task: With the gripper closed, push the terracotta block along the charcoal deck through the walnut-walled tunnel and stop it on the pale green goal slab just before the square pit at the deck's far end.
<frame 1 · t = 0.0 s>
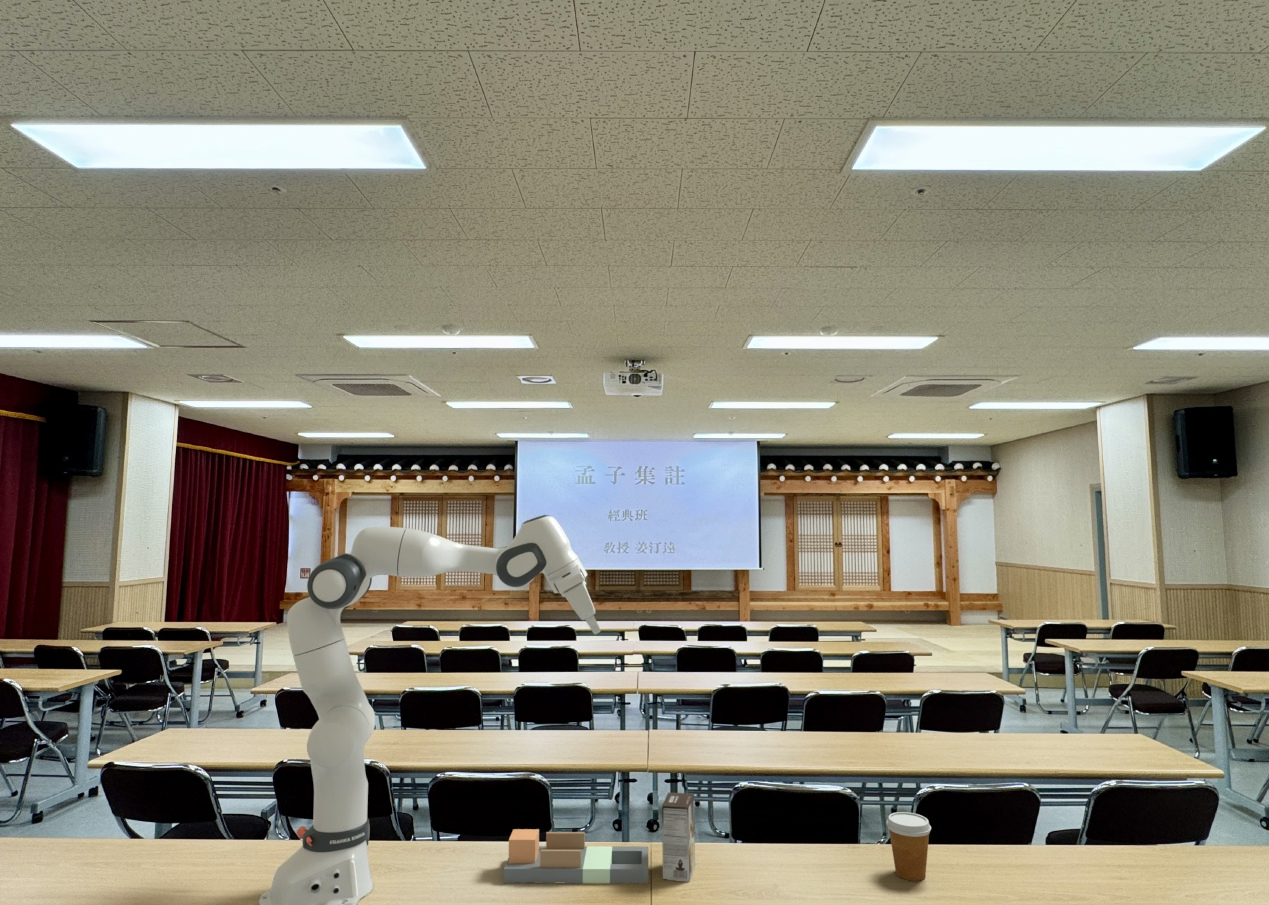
hand: (596, 630, 177), 54 cm above the table, tool tilted 30°, fingers open, 8 cm apart
block: (523, 857, 174), point 3 cm above the table, touching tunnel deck
coffee box: (679, 873, 173), on the table
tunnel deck: (565, 870, 173), on the table
disposable coffee cup: (910, 875, 171), on the table
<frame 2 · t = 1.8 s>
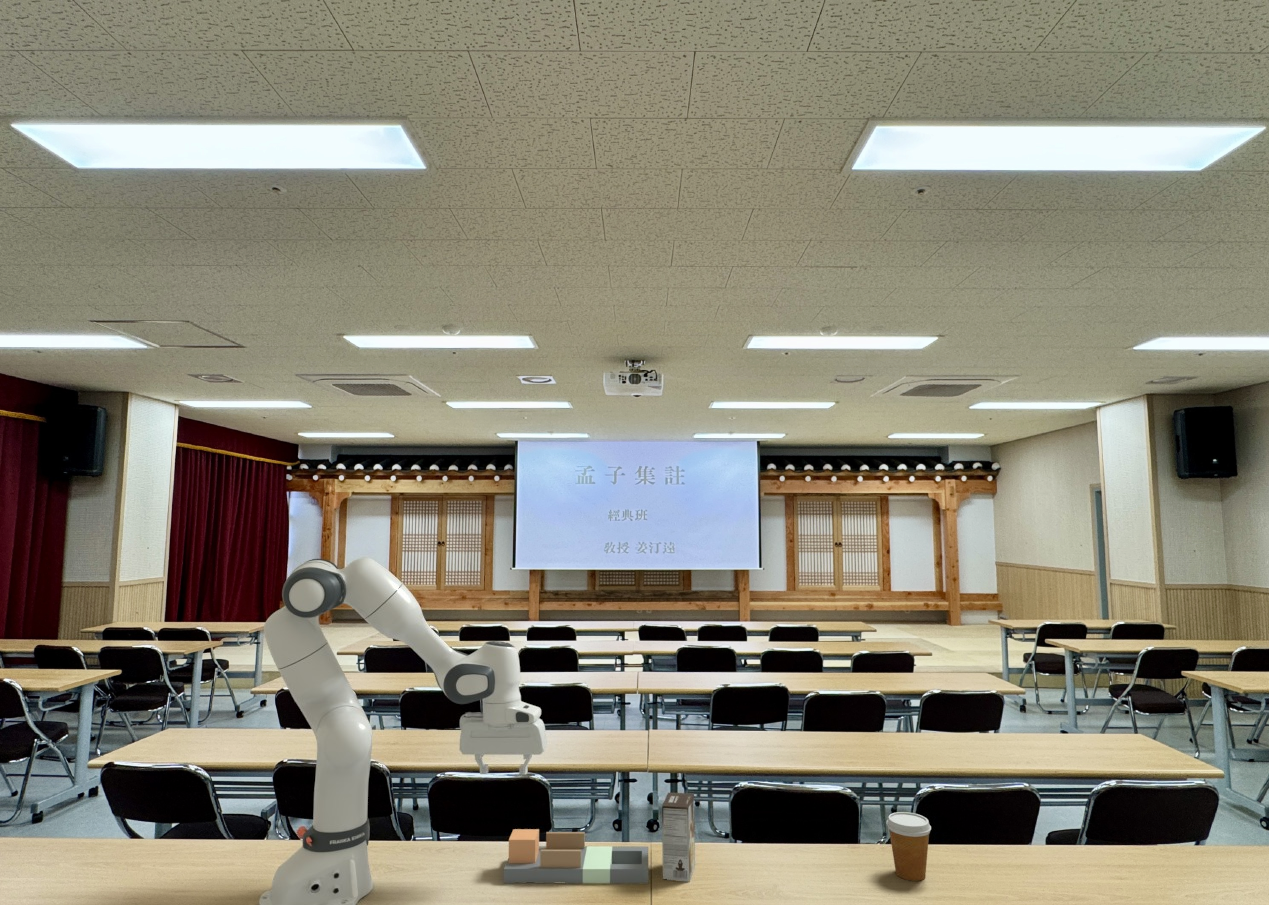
hand: (503, 773, 176), 22 cm above the table, tool pointing down, fingers open, 8 cm apart
nothing on the table moved.
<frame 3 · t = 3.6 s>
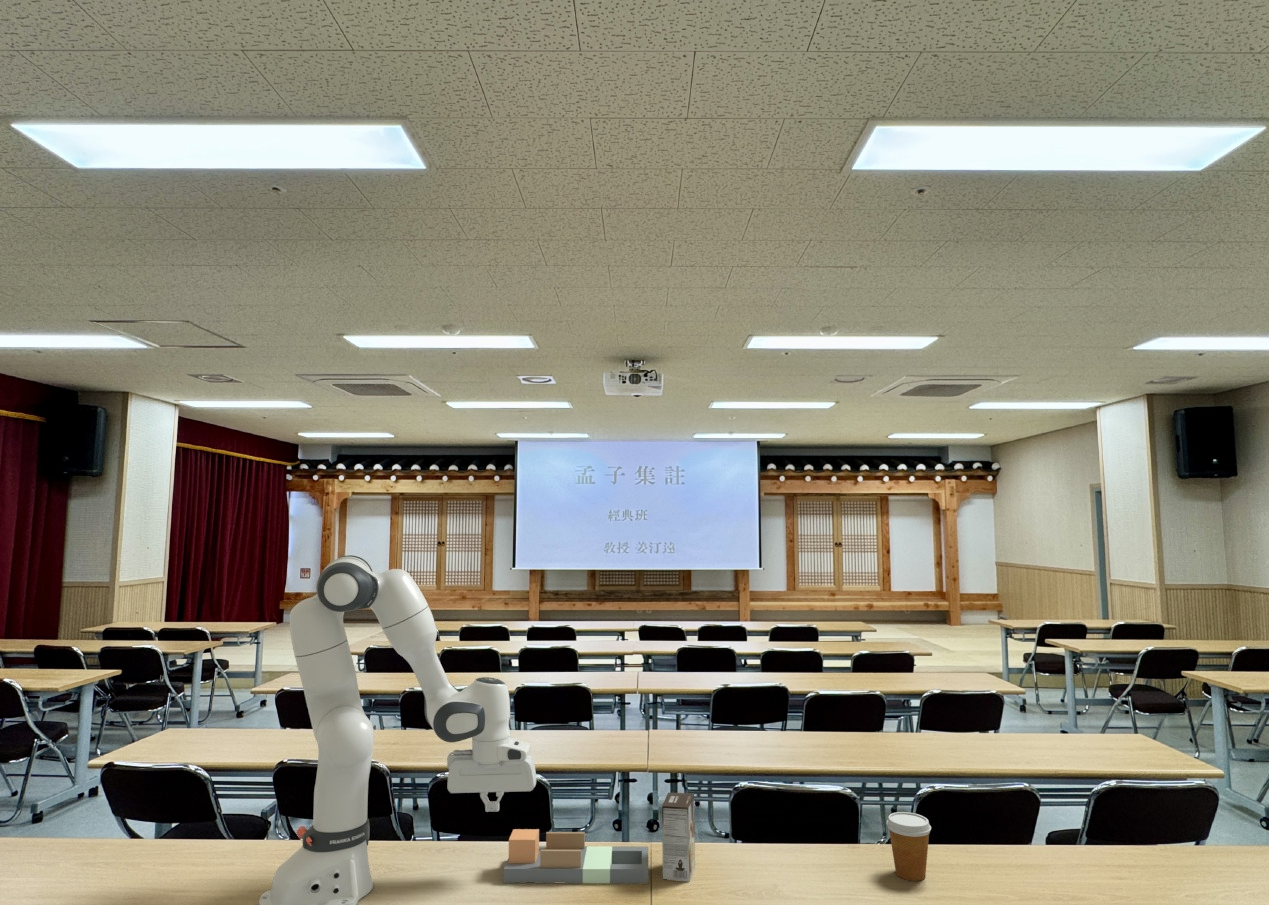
hand: (492, 810, 175), 13 cm above the table, tool pointing down, fingers closed
nothing on the table moved.
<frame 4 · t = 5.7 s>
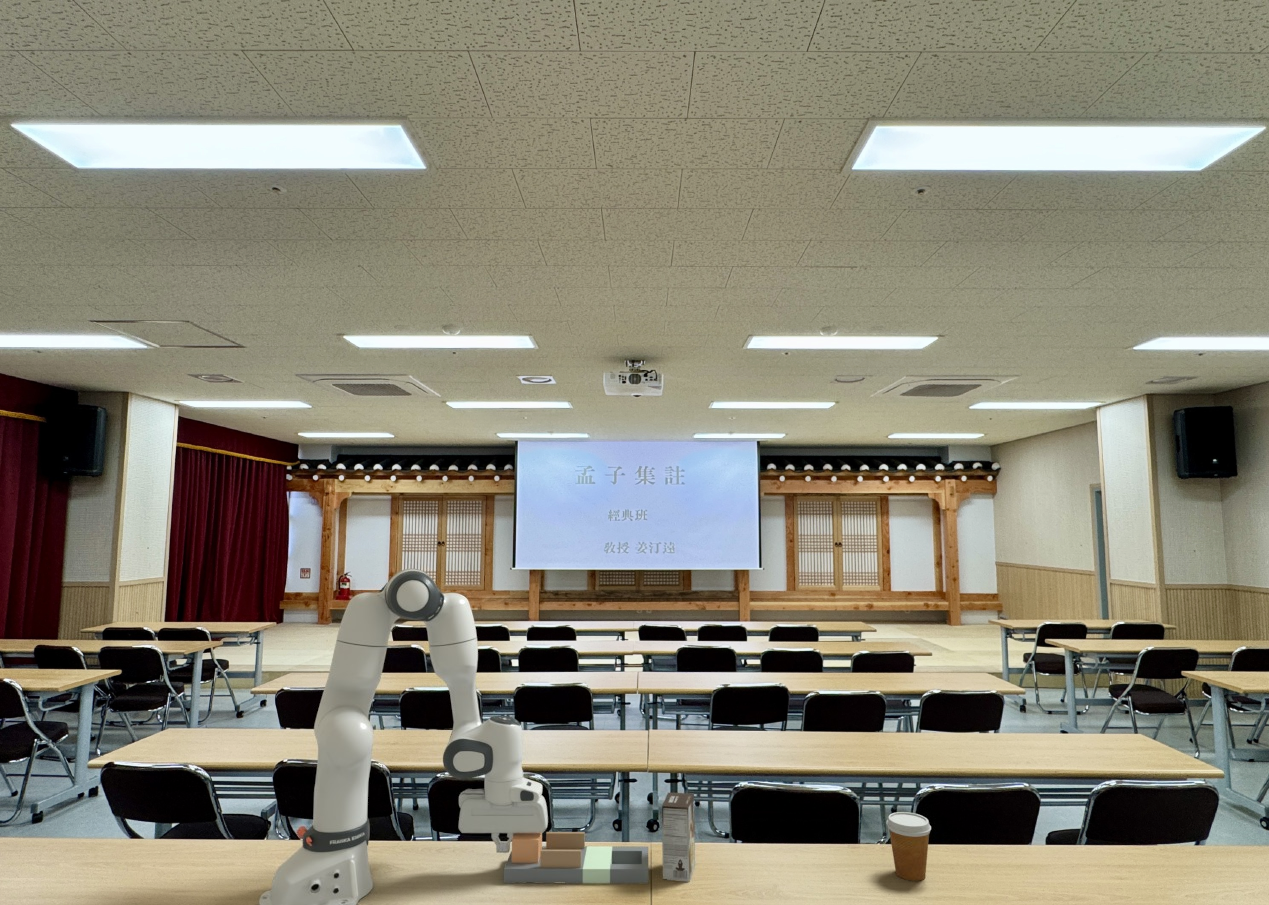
hand: (503, 851, 174), 4 cm above the table, tool pointing down, fingers closed
block: (526, 856, 174), point 3 cm above the table, touching gripper
everything else where it was.
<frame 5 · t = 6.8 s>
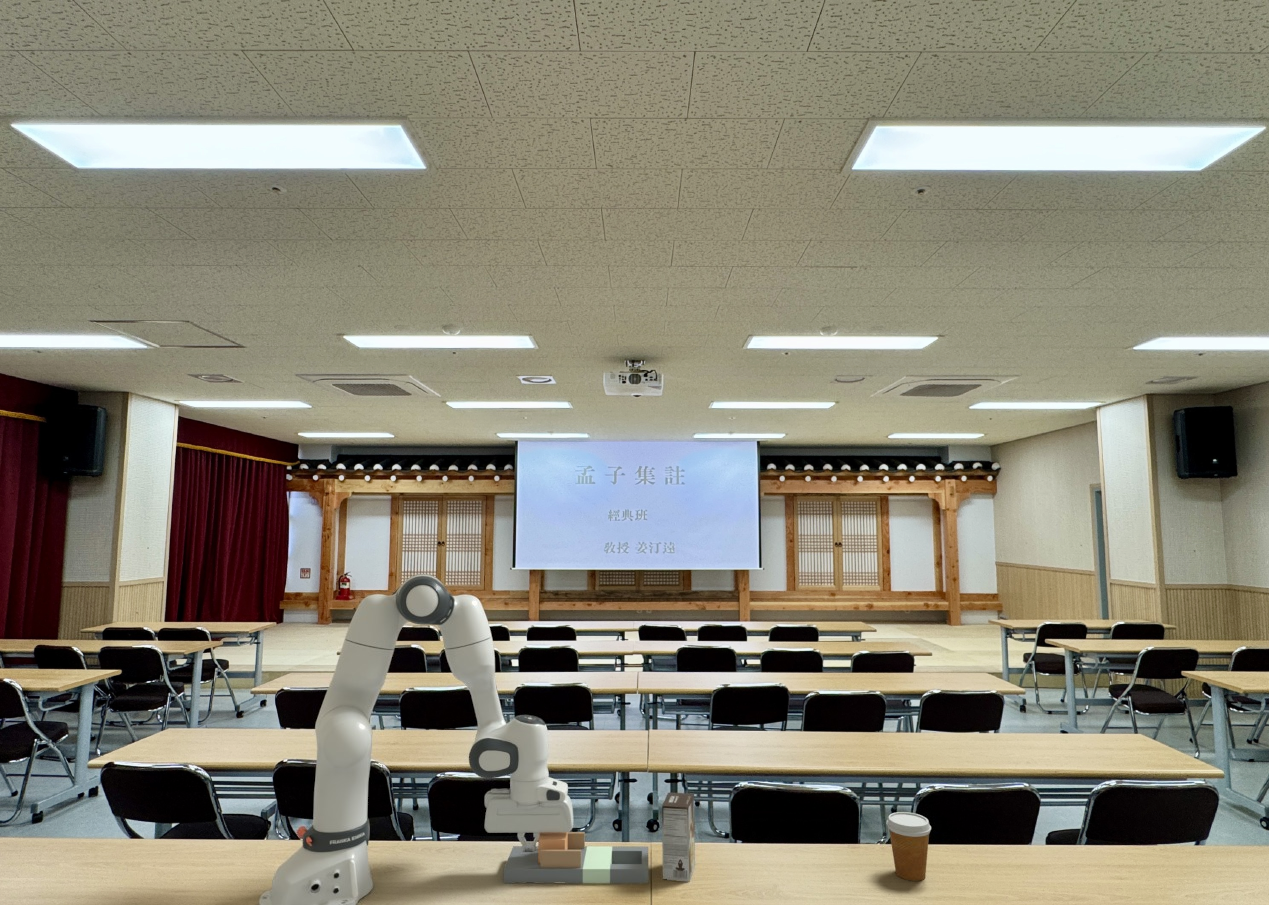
hand: (529, 851, 174), 4 cm above the table, tool pointing down, fingers closed
block: (553, 857, 174), point 3 cm above the table, touching gripper
everything else where it was.
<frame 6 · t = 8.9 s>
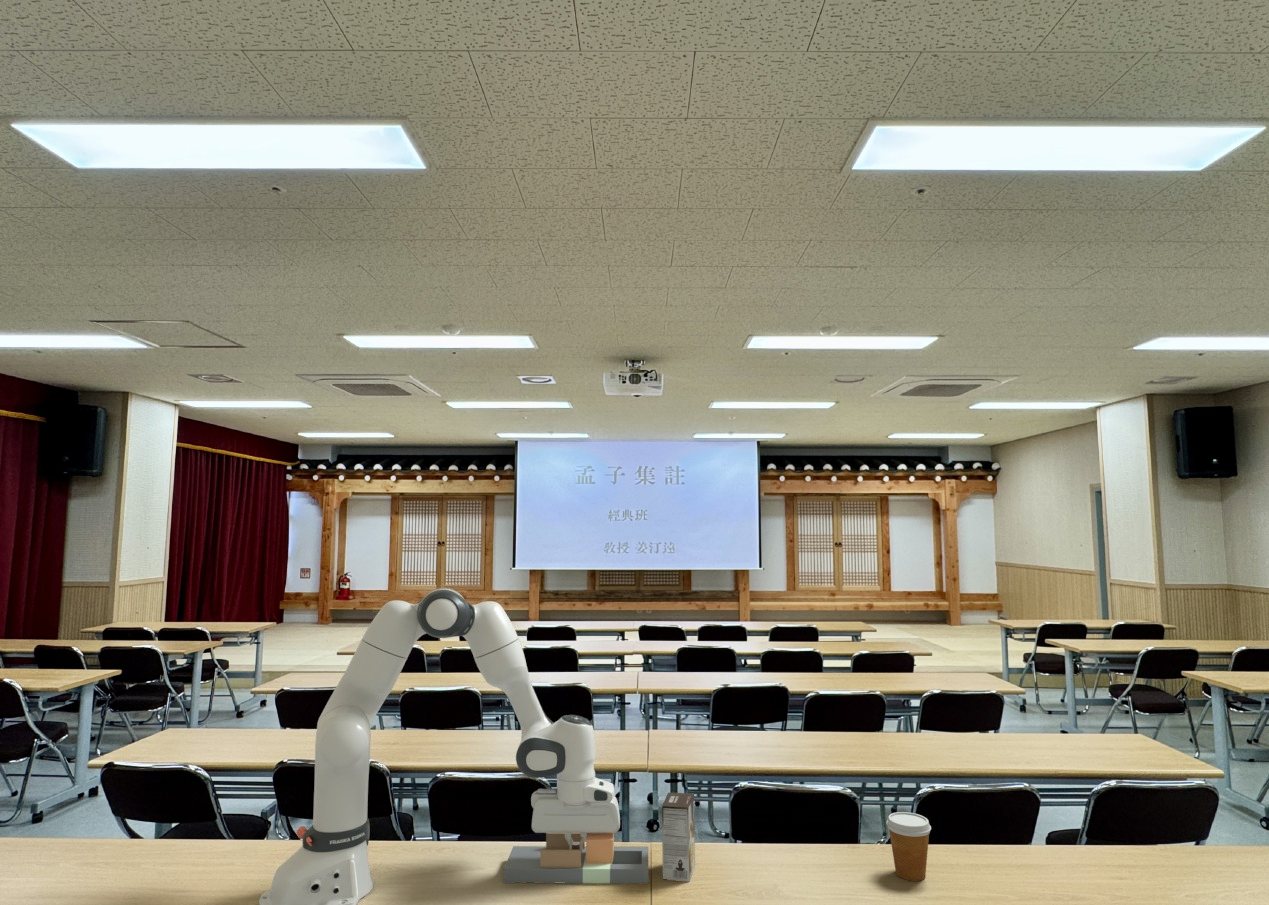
hand: (576, 851, 174), 4 cm above the table, tool pointing down, fingers closed
block: (600, 857, 174), point 3 cm above the table, touching gripper
everything else where it was.
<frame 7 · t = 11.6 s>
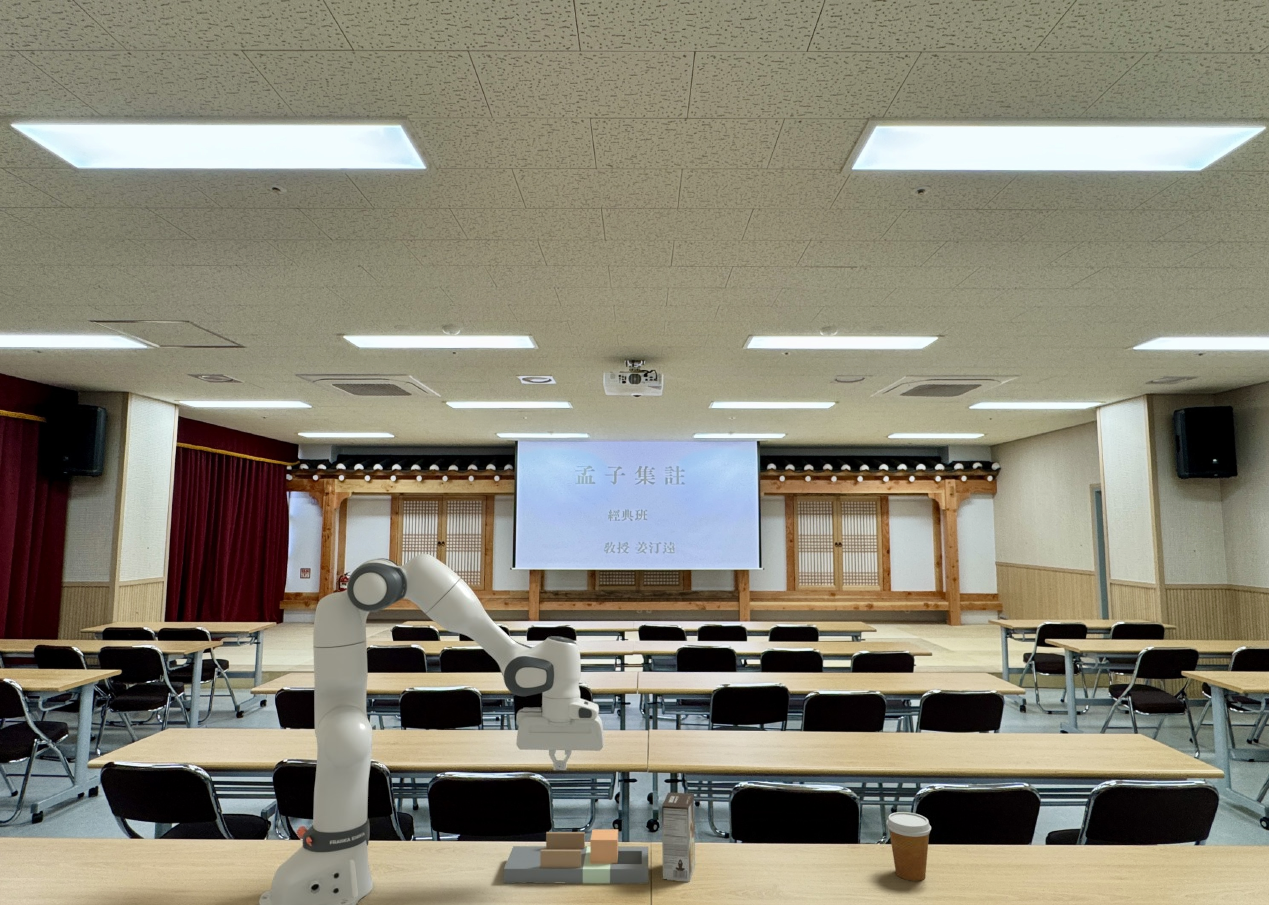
hand: (559, 769, 176), 22 cm above the table, tool pointing down, fingers closed
block: (604, 857, 174), point 3 cm above the table, touching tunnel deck
everything else where it was.
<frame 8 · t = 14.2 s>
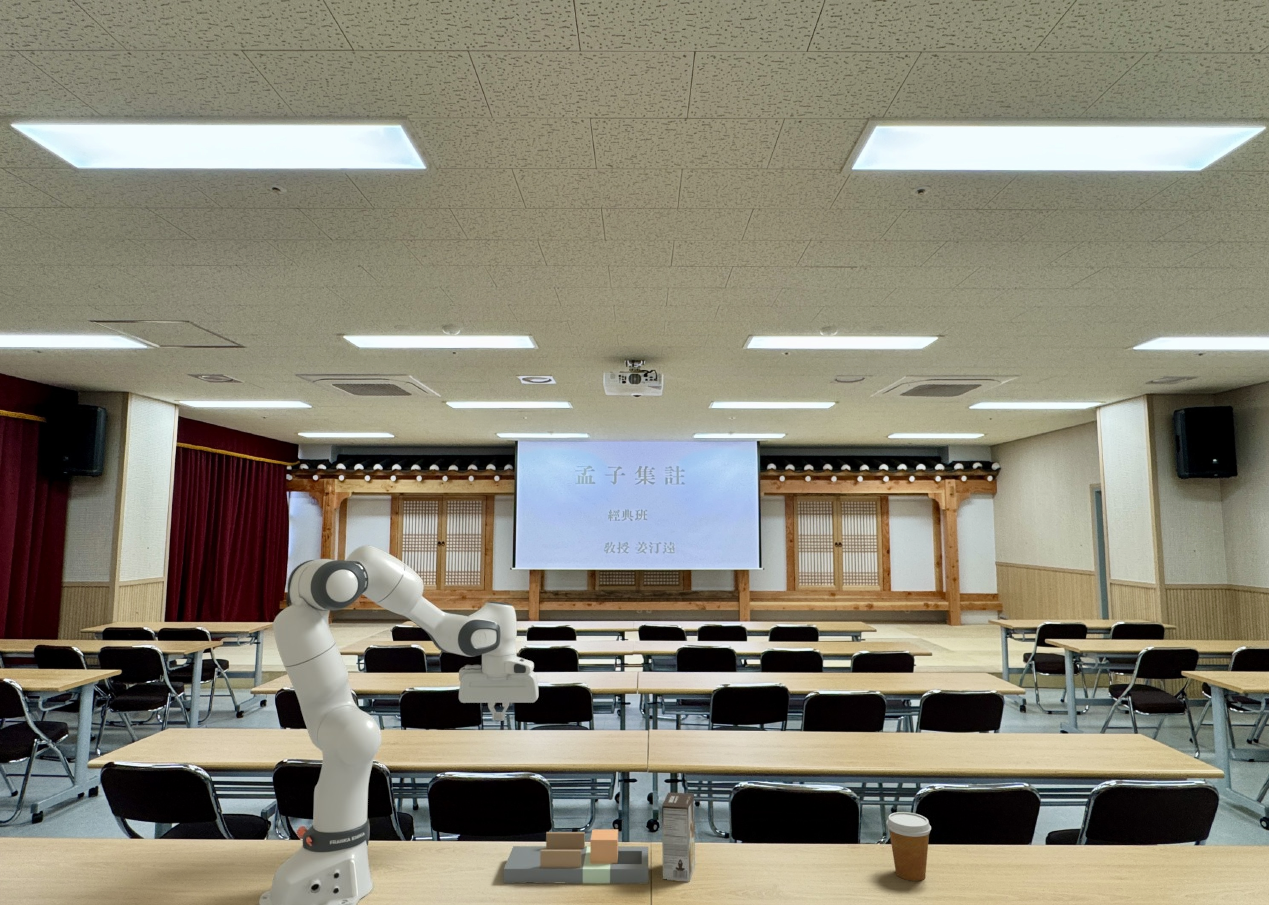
hand: (498, 720, 195), 29 cm above the table, tool pointing down, fingers closed
nothing on the table moved.
at the end: block 1.1 cm from the target spot on the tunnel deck, point 3.0 cm above the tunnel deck's base; block tilted 0° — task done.
